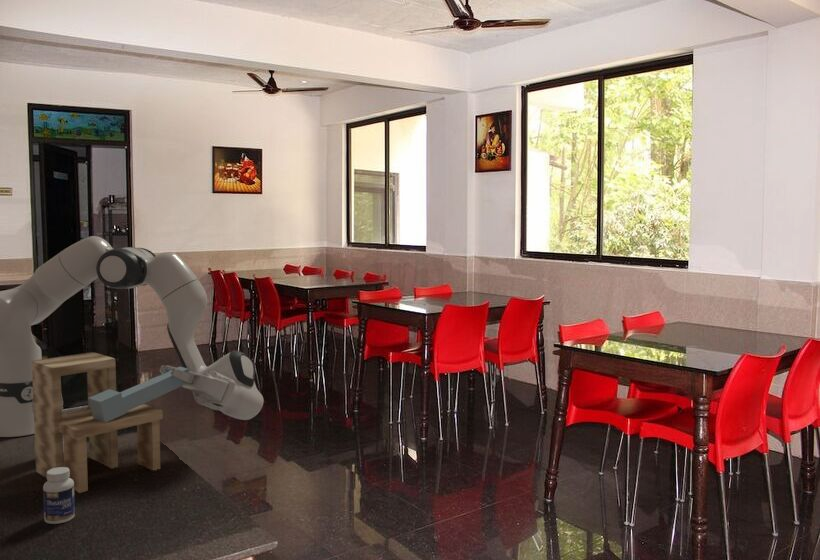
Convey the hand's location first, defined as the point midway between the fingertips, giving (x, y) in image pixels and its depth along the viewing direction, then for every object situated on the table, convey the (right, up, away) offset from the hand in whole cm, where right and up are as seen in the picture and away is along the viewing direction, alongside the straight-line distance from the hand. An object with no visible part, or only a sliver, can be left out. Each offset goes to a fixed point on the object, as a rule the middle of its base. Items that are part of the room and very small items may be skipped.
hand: (167, 370), depth 164 cm
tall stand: (-20, -23, -4) cm, 30 cm away
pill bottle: (-10, -25, -30) cm, 41 cm away
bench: (-9, -23, -8) cm, 26 cm away
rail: (-4, -6, -4) cm, 8 cm away
